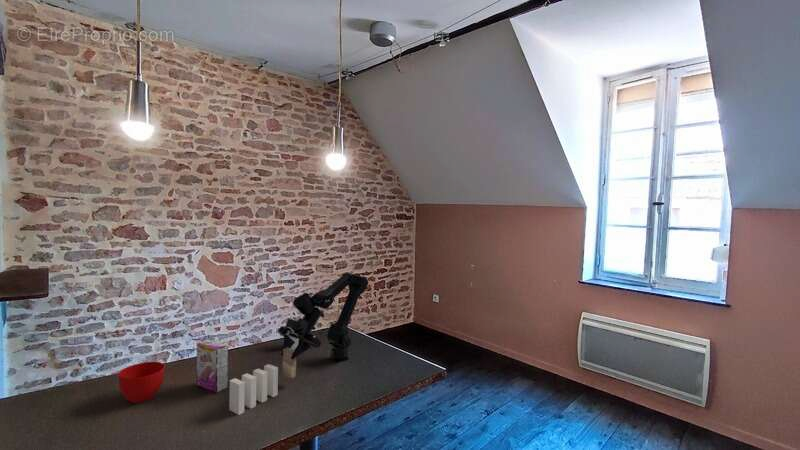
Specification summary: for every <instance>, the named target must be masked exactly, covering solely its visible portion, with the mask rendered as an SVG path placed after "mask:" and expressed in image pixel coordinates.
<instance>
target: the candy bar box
mask: <svg viewBox="0 0 800 450" xmlns="http://www.w3.org/2000/svg"><path fill="white" fill-rule="evenodd" d="M228 367H229V345H228V344H225V343H222V342H219V341H215V340H212V339H208V338H207V339H204V340H201V341H199V342H197V343H196V386H198V387H200V388H203V389H206V390H208V391H211V392H214V393H216V394H218V393H220V392H221V391H223V390H226V389H227V388H228V387H229V386H228V385H229V384H228V383H229V380H228V375H229V373H228V372H229V369H228Z"/></svg>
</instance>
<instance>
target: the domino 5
mask: <svg viewBox="0 0 800 450" xmlns="http://www.w3.org/2000/svg"><path fill="white" fill-rule="evenodd" d="M294 351H295V349H291V348H288V347H287V348H284V349H283V356H282V376H285V377H287V378H289V379H293V378H295V377H297V376H296V375H297V357H296V358H294V359H293V360H292V359H291V356H292V354H293V353H294Z"/></svg>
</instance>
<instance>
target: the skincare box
mask: <svg viewBox="0 0 800 450" xmlns="http://www.w3.org/2000/svg"><path fill="white" fill-rule="evenodd" d="M286 323H287V320H286V321H285V324H286ZM288 328H290V327H288ZM290 329H291V328H290ZM291 330H292V329H291ZM292 331H293V330H292ZM293 332H294V331H293ZM293 341H294V342H295V343H294V345H293V346H292V347H291V349H294V350H295V349H296V347H297V346H298V342H299V339H297V338H293Z"/></svg>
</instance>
